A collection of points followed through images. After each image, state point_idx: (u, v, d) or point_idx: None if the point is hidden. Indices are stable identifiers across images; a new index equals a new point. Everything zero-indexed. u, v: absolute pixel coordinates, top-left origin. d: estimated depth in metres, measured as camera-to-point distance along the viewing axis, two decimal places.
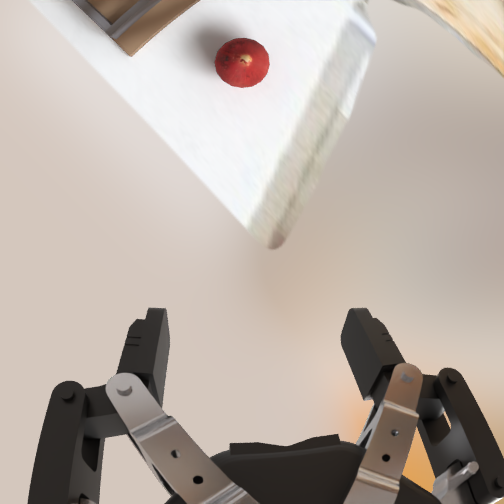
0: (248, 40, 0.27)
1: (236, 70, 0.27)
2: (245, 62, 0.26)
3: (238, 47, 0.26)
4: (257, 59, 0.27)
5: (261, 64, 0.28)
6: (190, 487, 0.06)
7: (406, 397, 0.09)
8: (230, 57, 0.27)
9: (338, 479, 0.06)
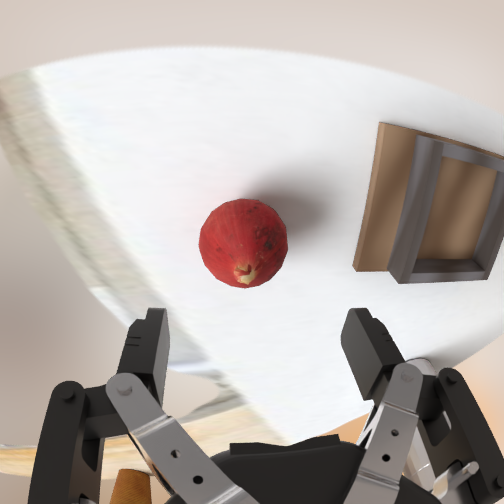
0: None
1: (240, 245, 0.18)
2: (242, 273, 0.17)
3: (270, 270, 0.19)
4: (232, 280, 0.19)
5: (222, 277, 0.19)
6: (190, 487, 0.06)
7: (406, 397, 0.09)
8: (265, 252, 0.18)
9: (338, 479, 0.06)
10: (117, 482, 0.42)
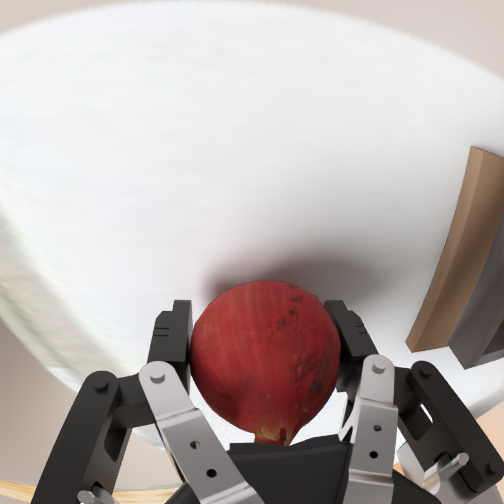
0: None
1: (267, 396, 0.09)
2: None
3: (313, 417, 0.10)
4: None
5: (231, 423, 0.10)
6: (190, 487, 0.06)
7: (381, 389, 0.09)
8: (311, 400, 0.09)
9: (329, 482, 0.06)
10: None
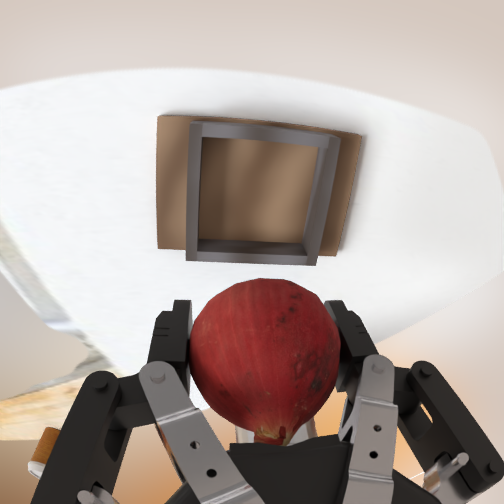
0: None
1: (266, 394, 0.09)
2: None
3: (313, 415, 0.10)
4: (248, 430, 0.10)
5: None
6: (190, 487, 0.06)
7: (381, 388, 0.09)
8: (311, 398, 0.09)
9: (329, 482, 0.06)
10: (41, 438, 0.46)
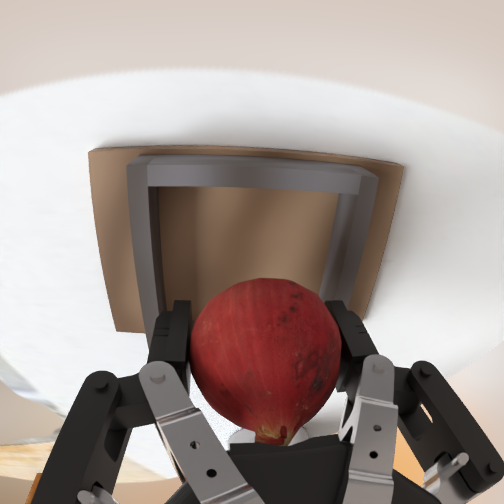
0: None
1: (268, 393, 0.09)
2: (271, 443, 0.08)
3: (314, 415, 0.10)
4: (249, 429, 0.10)
5: (231, 421, 0.10)
6: (190, 487, 0.06)
7: (381, 389, 0.09)
8: (312, 398, 0.09)
9: (329, 482, 0.06)
10: (33, 484, 0.37)
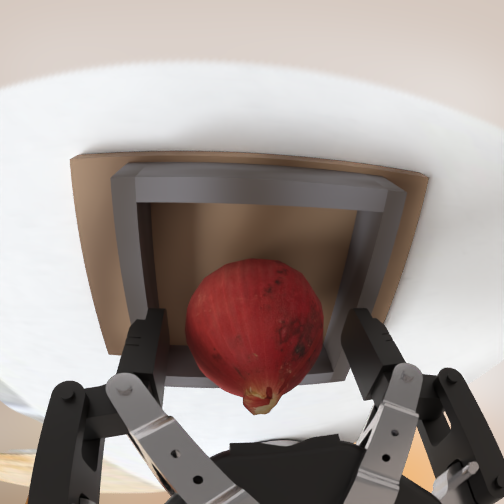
0: None
1: (255, 356, 0.10)
2: (258, 403, 0.10)
3: (298, 382, 0.11)
4: (239, 395, 0.11)
5: (222, 388, 0.11)
6: (190, 487, 0.06)
7: (407, 397, 0.09)
8: (295, 362, 0.10)
9: (338, 479, 0.06)
10: None
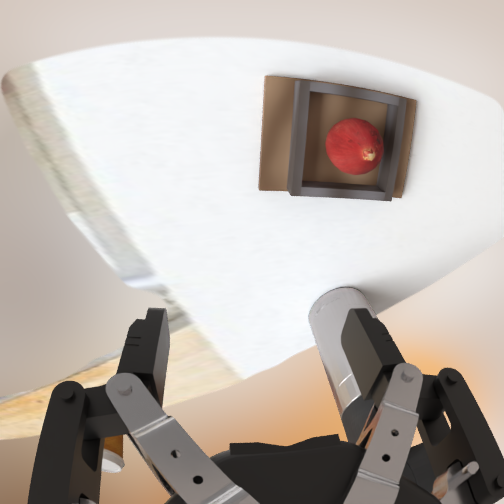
0: None
1: (364, 138, 0.26)
2: (369, 152, 0.25)
3: (379, 157, 0.27)
4: (357, 162, 0.27)
5: (349, 161, 0.27)
6: (190, 487, 0.06)
7: (407, 397, 0.09)
8: (377, 144, 0.26)
9: (338, 479, 0.06)
10: None
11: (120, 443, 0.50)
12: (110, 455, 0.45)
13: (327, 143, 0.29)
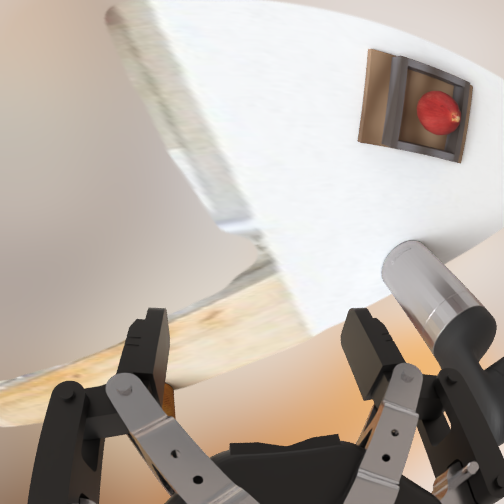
0: None
1: (451, 105, 0.28)
2: (457, 115, 0.28)
3: (459, 122, 0.29)
4: (446, 122, 0.29)
5: (440, 121, 0.30)
6: (190, 487, 0.06)
7: (407, 397, 0.09)
8: (459, 111, 0.28)
9: (338, 479, 0.06)
10: None
11: (174, 416, 0.52)
12: None
13: (421, 107, 0.31)
